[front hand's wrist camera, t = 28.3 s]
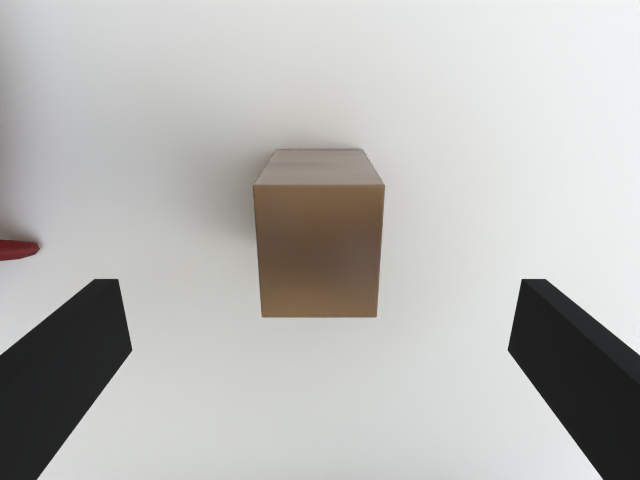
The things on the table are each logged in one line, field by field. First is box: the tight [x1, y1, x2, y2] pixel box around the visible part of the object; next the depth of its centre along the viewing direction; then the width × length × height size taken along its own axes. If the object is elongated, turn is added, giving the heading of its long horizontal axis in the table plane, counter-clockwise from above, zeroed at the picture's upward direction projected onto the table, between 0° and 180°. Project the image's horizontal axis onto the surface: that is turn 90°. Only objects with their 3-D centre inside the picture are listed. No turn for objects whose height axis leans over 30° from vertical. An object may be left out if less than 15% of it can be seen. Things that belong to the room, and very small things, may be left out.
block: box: [253, 149, 385, 317], centre depth 19 cm, size 6×5×8 cm
